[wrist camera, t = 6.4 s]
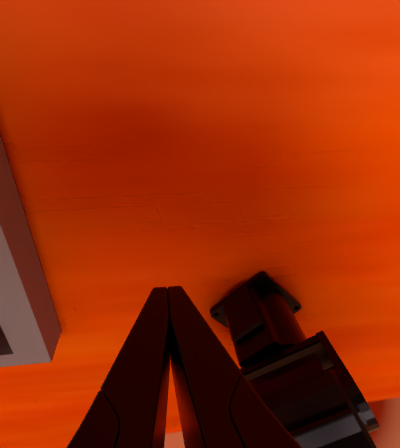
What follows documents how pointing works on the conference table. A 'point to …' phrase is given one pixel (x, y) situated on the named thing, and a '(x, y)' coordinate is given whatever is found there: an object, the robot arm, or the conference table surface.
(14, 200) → the button board
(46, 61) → the conference table surface
